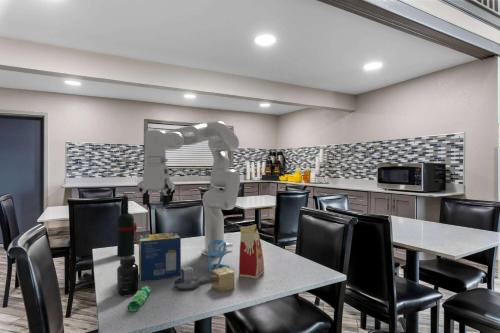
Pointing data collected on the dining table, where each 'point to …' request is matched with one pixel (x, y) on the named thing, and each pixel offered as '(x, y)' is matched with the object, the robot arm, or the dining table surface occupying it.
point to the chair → (216, 254)
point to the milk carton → (250, 253)
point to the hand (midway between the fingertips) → (156, 204)
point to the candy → (139, 298)
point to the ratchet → (189, 280)
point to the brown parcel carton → (223, 279)
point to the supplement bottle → (127, 276)
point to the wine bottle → (126, 231)
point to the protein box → (159, 256)
